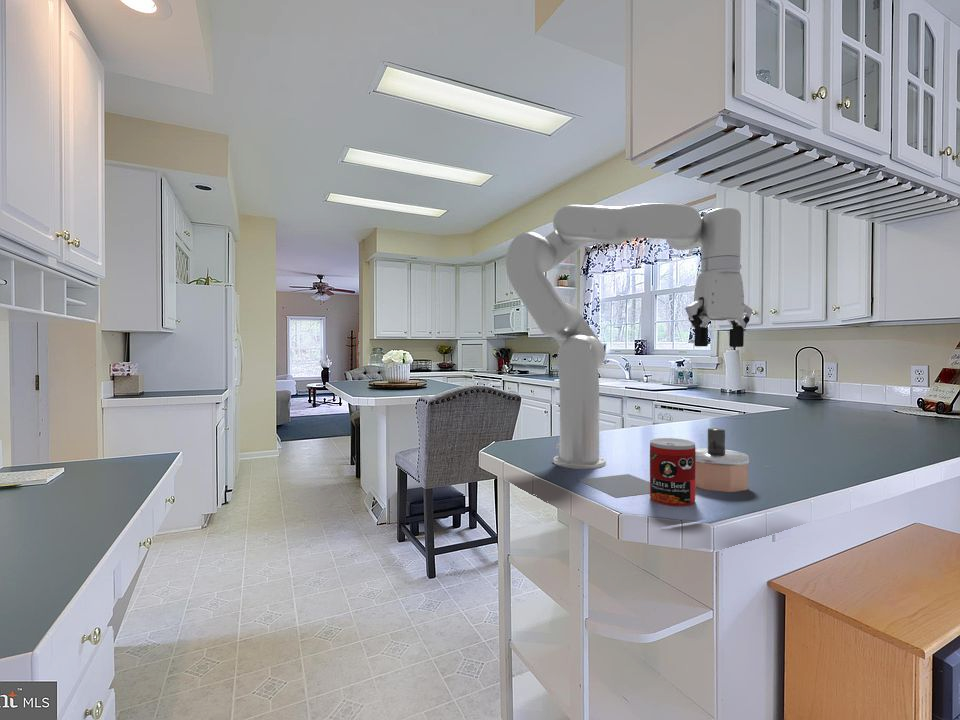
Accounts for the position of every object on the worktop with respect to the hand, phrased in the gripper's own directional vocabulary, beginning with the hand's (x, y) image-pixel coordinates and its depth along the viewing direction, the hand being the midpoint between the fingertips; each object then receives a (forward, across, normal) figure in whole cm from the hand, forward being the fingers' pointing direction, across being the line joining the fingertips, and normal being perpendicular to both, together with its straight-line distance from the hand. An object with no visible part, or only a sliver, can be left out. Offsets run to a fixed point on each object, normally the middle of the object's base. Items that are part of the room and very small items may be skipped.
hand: (718, 346), depth 101 cm
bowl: (+29, +5, +5) cm, 29 cm away
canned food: (+29, +21, +11) cm, 37 cm away
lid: (+23, +5, +5) cm, 24 cm away
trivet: (+29, +24, 0) cm, 37 cm away
